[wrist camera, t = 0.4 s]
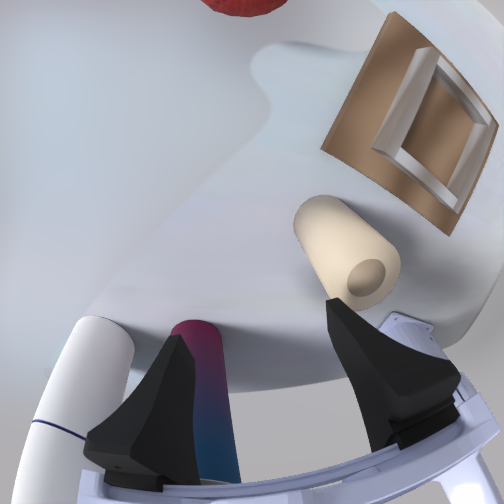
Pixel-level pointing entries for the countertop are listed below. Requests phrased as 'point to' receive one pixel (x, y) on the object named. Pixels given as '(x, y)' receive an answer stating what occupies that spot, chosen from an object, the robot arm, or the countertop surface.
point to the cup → (210, 405)
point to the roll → (346, 252)
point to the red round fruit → (244, 6)
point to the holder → (414, 125)
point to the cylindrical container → (73, 411)
